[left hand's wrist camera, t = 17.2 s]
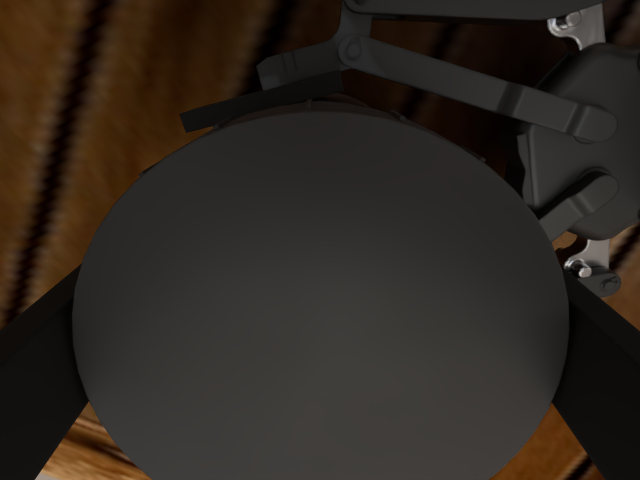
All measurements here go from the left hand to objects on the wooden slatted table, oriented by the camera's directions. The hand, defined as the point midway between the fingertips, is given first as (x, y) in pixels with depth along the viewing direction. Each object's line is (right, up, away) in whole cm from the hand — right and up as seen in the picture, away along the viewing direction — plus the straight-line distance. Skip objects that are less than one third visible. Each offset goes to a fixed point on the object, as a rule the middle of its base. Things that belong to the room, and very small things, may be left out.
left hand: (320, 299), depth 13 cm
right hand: (-4, +2, +8) cm, 9 cm away
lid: (0, -1, -3) cm, 3 cm away
